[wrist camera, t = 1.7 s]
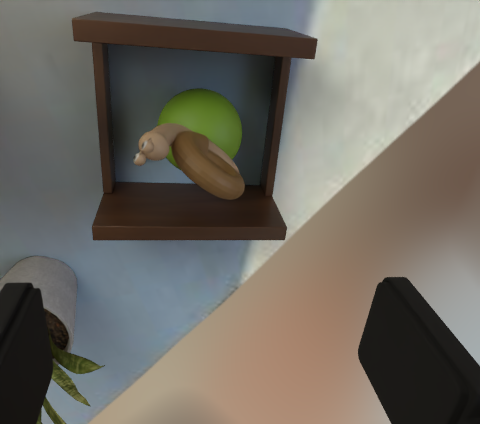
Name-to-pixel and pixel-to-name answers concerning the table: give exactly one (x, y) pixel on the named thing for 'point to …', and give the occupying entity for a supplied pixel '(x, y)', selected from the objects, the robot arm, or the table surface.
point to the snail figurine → (198, 141)
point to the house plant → (55, 319)
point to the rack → (175, 194)
